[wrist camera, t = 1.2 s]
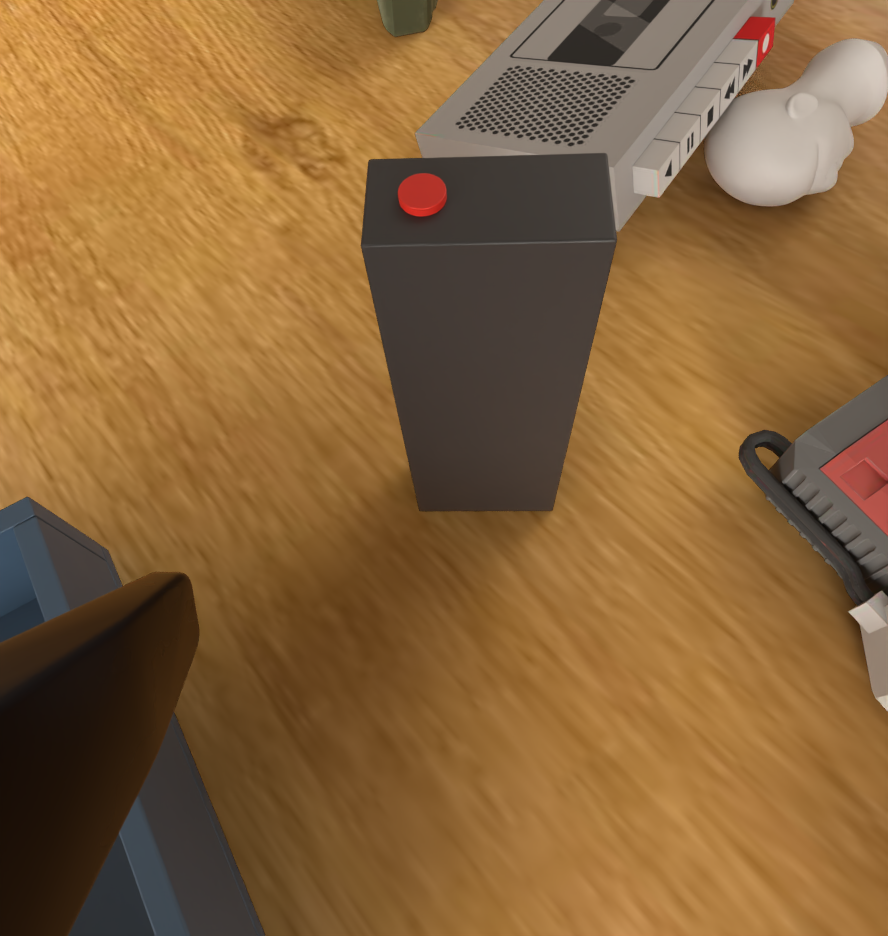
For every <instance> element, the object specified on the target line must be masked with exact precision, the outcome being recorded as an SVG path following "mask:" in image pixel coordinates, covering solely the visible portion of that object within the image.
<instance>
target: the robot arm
mask: <svg viewBox="0 0 888 936" xmlns="http://www.w3.org/2000/svg"><path fill="white" fill-rule="evenodd" d="M198 641H199V624H198V619H197V613H196V607H195V601H194V595H193V589H192V584H191V581H190V579H189V577H188V576H187V575H186V574H184V573H180V572H153V573H150V574H148V575H146V576H144V577H142V578H139V579H137V580H135V581H133V582H131V583H129V584H126V585H124V586H122V587H120V588H118V589H116V590H114V591H111V592H109V593H107V594H105V595H103V596H101V597H98V598H96V599H94V600H92V601H90V602H88V603H85V604H83V605H81V606H79V607H77V608H75V609H72V610H70V611H68V612H66V613H64V614H62V615H60V616H57V617H55V618H53V619H51V620H49V621H47V622H44V623H42V624H40V625H38V626H36V627H34V628H31V629H29V630H27V631H25V632H23V633H21V634H18V635H16V636H14V637H12V638H10V639H8V640H6V641H3V642H1V643H0V936H68V935H69V933H70V931H71V929H72V927H73V925H74V923H75V921H76V919H77V917H78V915H79V913H80V911H81V909H82V907H83V905H84V903H85V901H86V899H87V897H88V895H89V893H90V891H91V889H92V887H93V884H94V882H95V880H96V878H97V876H98V874H99V872H100V870H101V868H102V866H103V864H104V862H105V860H106V858H107V856H108V854H109V852H110V850H111V848H112V846H113V844H114V842H115V840H116V838H117V836H118V834H119V832H120V830H121V828H122V826H123V824H124V822H125V820H126V818H127V816H128V814H129V812H130V810H131V808H132V806H133V804H134V802H135V800H136V798H137V796H138V794H139V792H140V790H141V788H142V786H143V784H144V782H145V780H146V778H147V776H148V774H149V772H150V769H151V767H152V765H153V763H154V761H155V759H156V756H157V754H158V752H159V749H160V747H161V744H162V742H163V739H164V737H165V734H166V731H167V729H168V726H169V723H170V720H171V718H172V715H173V712H174V710H175V707H176V704H177V701H178V699H179V696H180V693H181V690H182V688H183V685H184V682H185V679H186V677H187V674H188V671H189V668H190V666H191V663H192V660H193V657H194V655H195V652H196V649H197V646H198Z"/></svg>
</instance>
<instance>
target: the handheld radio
mask: <svg viewBox="0 0 888 936" xmlns="http://www.w3.org/2000/svg"><path fill="white" fill-rule="evenodd" d="M377 2H378V6H379V10H380V14H381V17H382V21H383V24H384V26H385V28H386V29H387V31H388V32H390V33H391V34H392V35H393V36H394V37H396V36H401V35H407V34H412V33H417V32H423V31H425V30H426V29H427V28H428V26H429V24H430V22H431V19H432V12H433V11H434V10H435V8H436V5H437V0H377Z"/></svg>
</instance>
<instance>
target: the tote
mask: <svg viewBox="0 0 888 936" xmlns="http://www.w3.org/2000/svg"><path fill="white" fill-rule="evenodd" d="M120 587H122V583H121V581H120V579H119V576H118V574H117V571H116V569H115V566H114V564H113V561H112V559H111V557H110V554H109V552H108V550H107V549H105V548H104V547H102V546H101V545H100V544H98V543H97V542H95V541H94V540H92V539H91V538H89V537H88V536H86V535H85V534H83V533H82V532H80V531H79V530H77V529H76V528H74V527H73V526H71V525H70V524H68V523H67V522H65V521H64V520H62V519H61V518H59V517H58V516H56V515H55V514H53V513H52V512H50V511H49V510H47V509H46V508H44V507H43V506H41V505H40V504H38V503H37V502H35V501H34V500H32V499H31V498H29V497H26V498H24V499H22V500H20V501H18V502H16V503H14V504H12V505H10V506H8V507H6V508H4V509H2V510H0V643H1V642H3V641H6V640H8V639H10V638H12V637H14V636H16V635H18V634H21V633H23V632H25V631H27V630H29V629H31V628H34V627H36V626H38V625H40V624H42V623H44V622H47V621H49V620H51V619H53V618H55V617H57V616H60V615H62V614H64V613H66V612H68V611H70V610H72V609H75V608H77V607H79V606H81V605H83V604H85V603H88V602H90V601H92V600H94V599H96V598H98V597H101V596H103V595H105V594H107V593H109V592H111V591H114V590H116V589H118V588H120ZM68 936H265V934H264V931H263V929H262V926H261V924H260V921H259V919H258V916H257V914H256V912H255V909H254V907H253V904H252V902H251V899H250V897H249V894H248V892H247V889H246V887H245V885H244V882H243V880H242V877H241V875H240V872H239V870H238V867H237V865H236V863H235V860H234V858H233V855H232V853H231V850H230V848H229V845H228V843H227V841H226V838H225V836H224V833H223V831H222V828H221V826H220V823H219V821H218V818H217V816H216V814H215V811H214V809H213V806H212V804H211V801H210V799H209V796H208V794H207V792H206V789H205V787H204V784H203V782H202V779H201V777H200V774H199V772H198V770H197V767H196V765H195V762H194V760H193V757H192V755H191V752H190V750H189V747H188V745H187V743H186V740H185V738H184V735H183V733H182V730H181V728H180V725H179V723H178V721H177V718H176V716H175V713H174V712H173V715H172V718H171V720H170V723H169V726H168V729H167V731H166V734H165V737H164V739H163V742H162V744H161V747H160V749H159V752H158V754H157V756H156V759H155V761H154V763H153V765H152V767H151V769H150V772H149V774H148V776H147V778H146V780H145V782H144V784H143V786H142V788H141V790H140V792H139V794H138V796H137V798H136V800H135V802H134V804H133V806H132V808H131V810H130V812H129V814H128V816H127V818H126V820H125V822H124V824H123V826H122V828H121V830H120V832H119V834H118V836H117V838H116V840H115V842H114V844H113V846H112V848H111V850H110V852H109V854H108V856H107V858H106V860H105V862H104V864H103V866H102V868H101V870H100V872H99V874H98V876H97V878H96V880H95V882H94V884H93V887H92V889H91V891H90V893H89V895H88V897H87V899H86V901H85V903H84V905H83V907H82V909H81V911H80V913H79V915H78V917H77V919H76V921H75V923H74V925H73V927H72V929H71V931H70V933H69V935H68Z"/></svg>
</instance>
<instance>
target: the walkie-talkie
mask: <svg viewBox="0 0 888 936" xmlns="http://www.w3.org/2000/svg"><path fill="white" fill-rule="evenodd" d="M757 447H765V448H767V449H769V450H771V451H773V452H774V453H775V454H776V455H777V456H778V457H779V459H778V461H777V462H776V463H775V464H774V465H773V466H772V467H771V469H770V470H768V469H767V468H766V467H765V466H764V465H763V464H762V463H761V462H760V460H759V458H758V456H757V455H756V452H755V448H757ZM739 460H740V462H741V464H742V466H743V468H744V470H745V471H746V473H747V475H748V476H749V477H750V478H751V479H752V480H753V481H754V482H755V483H756V484H757V485H758V486H759V487H760V488H761V490H762V491H763V492H764V493H765V494H766V499H767V500H769V501H770V502H771V503H772V504H773V505H774V506H775V507H776V510H777V511H778V512H779V513H782V514H783V515H784V517H785V518H786V519H787V520H788V521H787V522H788V523H789V524H790V525H793V526H794V527H795V528H796V529H797V530H798V531H799V532H800V535H801V536H802V537H803V538H805V539H806V540H807V541H808V542H809V543H810V544H811V545H812V548H813V549H814V550H815V551H818V552H819V553H820V554H821V555H822V557H823V558H824V559H825V560H824V561H825V562H826V563H827V564H830V565H831V566H832V567H833V568H834V569H835V570H836V571H837V574H838V575H839V576H840V577H841V578H842V579H843V582H844V585H845V588H846V591H847V593H848V594H849V596H850V597H851V599H852V600H853V601H854V603H855V604H856V606H855V607H854V608H853V609H851V610H850V611H849V613H850V614H851V615H852V616H853V617H854V618H855V619H856V620H857V622H858V623H859V624H860V629H861V634H862V640H863V645H864V651H865V656H866V661H867V667H868V672H869V677H870V683H871V688H872V692H873V694H874V696H875V698H876V699H877V700H878V701H879V702H880V703H881V705H882V706H883V707H884V708H885V709H886V710H887V711H888V375H887V376H886V377H884V378H883V379H881V380H880V381H878V382H877V383H875V384H874V385H872V386H871V387H870V388H868V389H867V390H865V391H864V392H862V393H861V394H859V395H858V396H856V397H855V398H854V399H852V400H851V401H849V402H848V403H846V404H845V405H843V406H842V407H840V408H839V409H838V410H836V411H835V412H833V413H832V414H830V415H829V416H827V417H826V418H824V419H823V420H822V421H820V422H819V423H817V424H816V425H814V426H813V427H811V428H810V429H809V430H807V431H806V432H805V433H803V434H802V435H801V436H800V437H798V438H797V439H796V440H795V441H794V442H793V443H790V442H789V441H788V440H787V439H786V438H785V437H783V436H782V435H780V434H778V433H776V432H774V431H768V430H763V431H759V432H756V433H753V434H750V435H749V436H748V437H747V438H746V439H745V441H744V442H743V444H742V445H741V446H740V449H739Z"/></svg>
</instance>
